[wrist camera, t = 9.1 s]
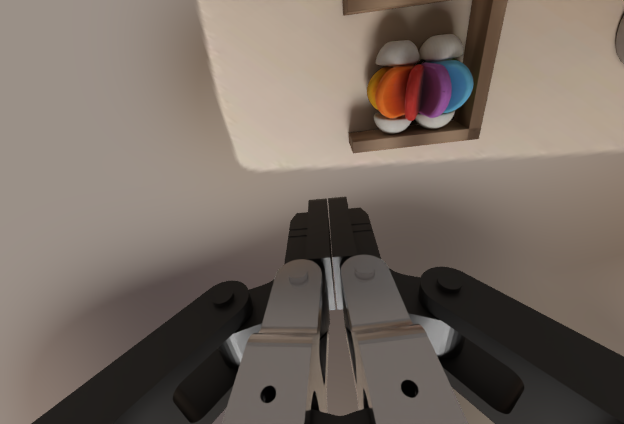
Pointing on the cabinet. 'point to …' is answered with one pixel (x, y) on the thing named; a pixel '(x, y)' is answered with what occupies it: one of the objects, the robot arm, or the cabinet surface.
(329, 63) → the cabinet surface
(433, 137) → the bay
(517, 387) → the robot arm
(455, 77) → the rainbow disc stack
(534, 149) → the cabinet surface
